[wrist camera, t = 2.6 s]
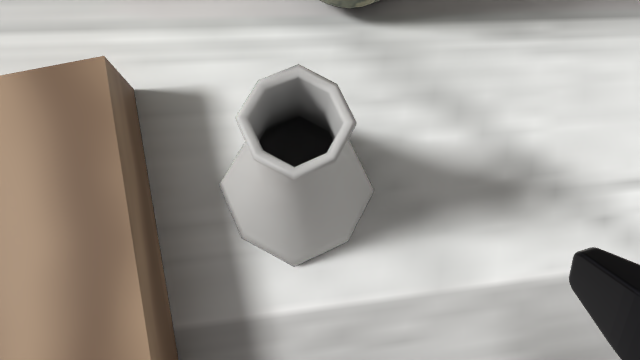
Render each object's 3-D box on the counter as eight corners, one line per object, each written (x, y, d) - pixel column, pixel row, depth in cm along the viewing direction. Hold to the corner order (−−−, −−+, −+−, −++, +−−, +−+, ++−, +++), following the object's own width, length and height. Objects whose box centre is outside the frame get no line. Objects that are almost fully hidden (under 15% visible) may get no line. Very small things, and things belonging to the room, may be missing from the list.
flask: (194, 185, 22) (108, 111, 12) (301, 93, 23) (303, -41, 13) (292, 294, 21) (288, 310, 11) (398, 192, 22) (477, 127, 12)
